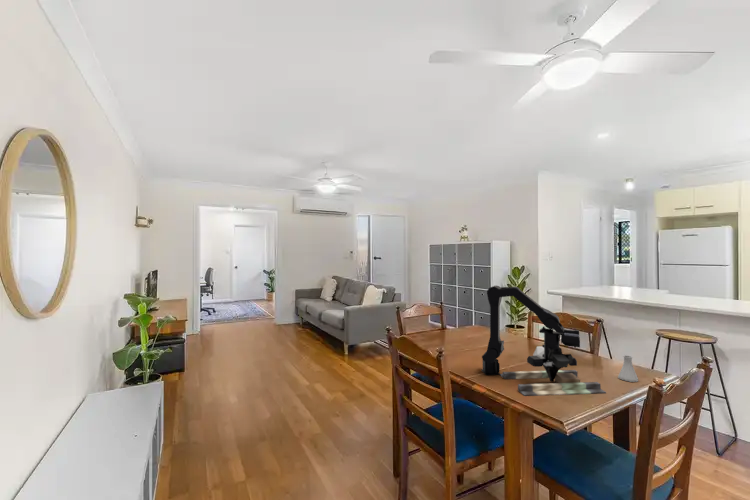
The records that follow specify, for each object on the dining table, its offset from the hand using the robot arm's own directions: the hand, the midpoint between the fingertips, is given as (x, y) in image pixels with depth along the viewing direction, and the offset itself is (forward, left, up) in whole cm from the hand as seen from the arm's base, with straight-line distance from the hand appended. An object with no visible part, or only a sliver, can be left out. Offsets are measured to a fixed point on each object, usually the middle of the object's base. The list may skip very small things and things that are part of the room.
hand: (551, 381), depth 143 cm
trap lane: (-1, 0, -1) cm, 2 cm away
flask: (+35, +2, -1) cm, 35 cm away
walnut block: (+5, -2, -1) cm, 6 cm away
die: (+11, +26, -1) cm, 28 cm away
